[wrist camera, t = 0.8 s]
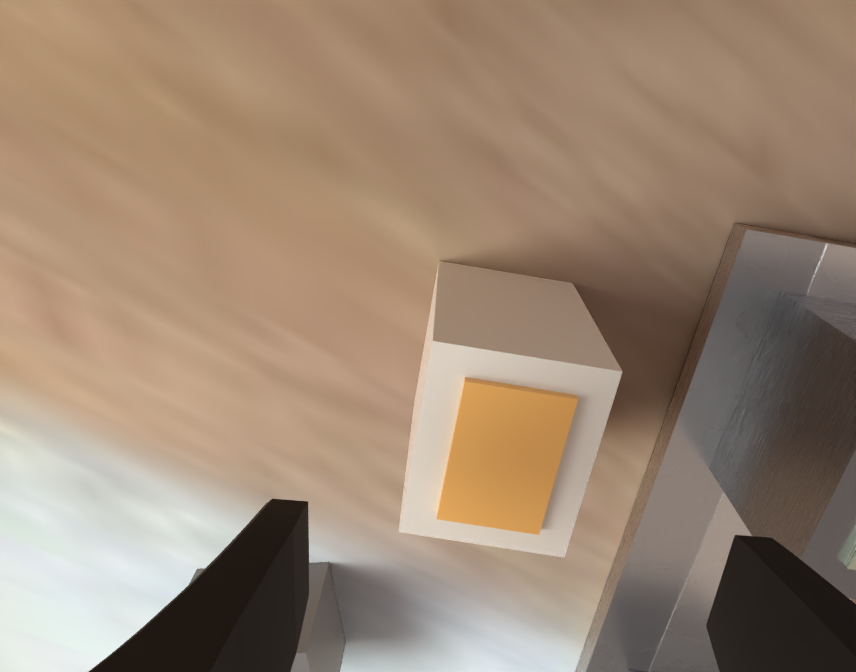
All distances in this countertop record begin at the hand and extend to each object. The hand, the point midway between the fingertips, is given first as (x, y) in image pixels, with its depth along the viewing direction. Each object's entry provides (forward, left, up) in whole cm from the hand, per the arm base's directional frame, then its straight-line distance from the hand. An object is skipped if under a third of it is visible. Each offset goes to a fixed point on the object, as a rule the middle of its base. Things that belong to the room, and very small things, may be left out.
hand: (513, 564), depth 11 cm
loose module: (0, 0, -10) cm, 10 cm away
